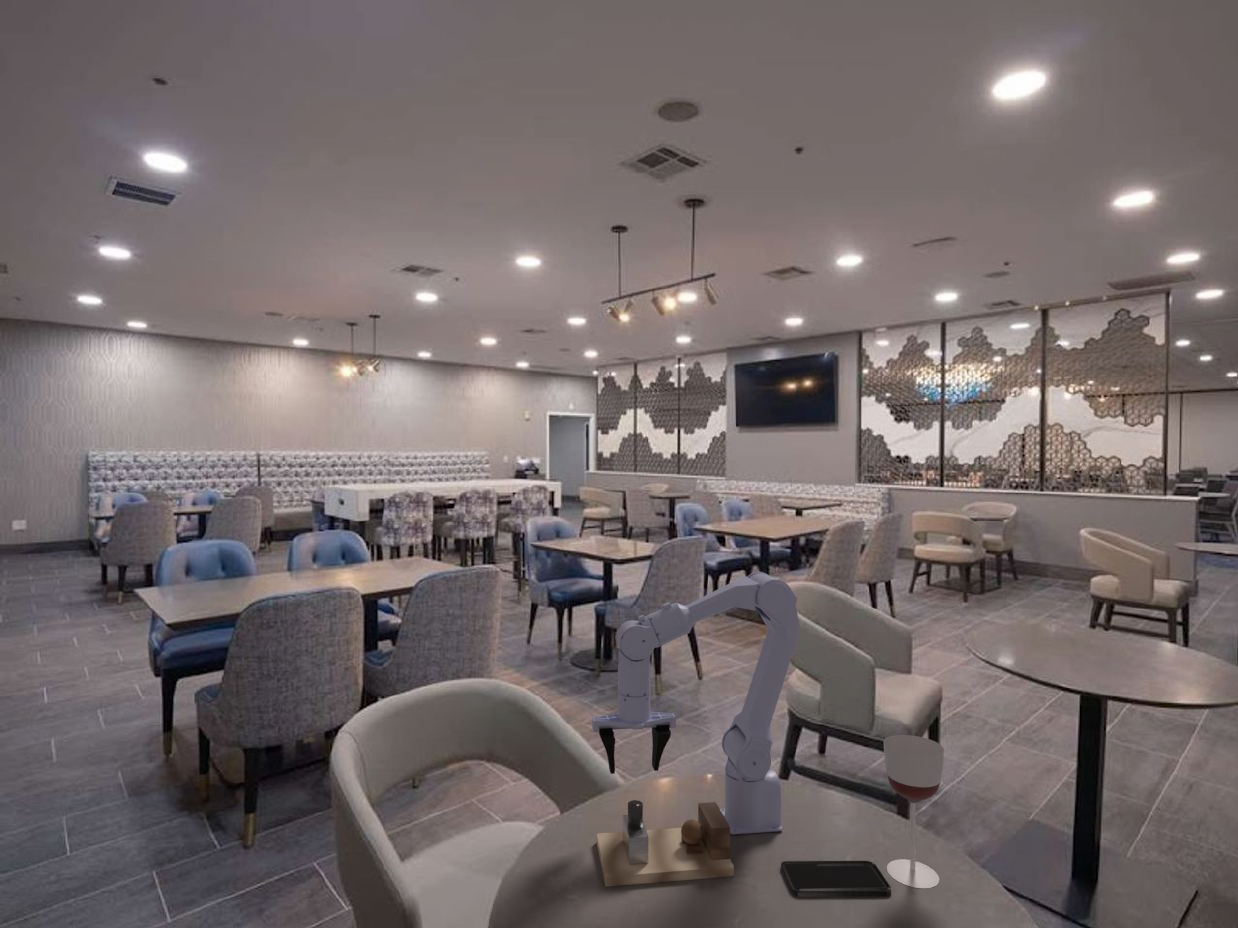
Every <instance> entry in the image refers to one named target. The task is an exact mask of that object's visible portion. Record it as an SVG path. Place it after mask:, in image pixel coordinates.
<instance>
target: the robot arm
mask: <svg viewBox="0 0 1238 928" xmlns="http://www.w3.org/2000/svg"><path fill="white" fill-rule="evenodd" d="M797 601H798V597H797V596H796V595H795V592H794V591H793V590H792V588H791V587H790V586H789V583H786V582H785V581H783V580H781V579H777V578H775V577H773V576H771V575H770V574H767V573H766V572H763V571H755V572H751V573H750V574H748V575H747V576H746V575H744V576H741V577H738V578H737V579H734V580H733V581H732V582H730V583H728V584H726V585H723V586H722V587H720V588H717V589H716V590H714V591H712V592H710V593H708V594H706V595H704V596H702V597H701V598H698V599H696V600H694V601H693V602H690V603H689V604H687V605H683V604H681V603H679V602H674V603H672V604H671V603H670V602H669V601H668V602H665V603H663V604H662V607H663V608H661V609H659V610H656V611H654V612H651V613H650V614H647V615H644V614H641V615H638V616H637V618H638V620H634V619H631V620H627V621H625V622H623V623H622V624H621V625H620V627H618V629H617V632H616V634H615V641H616V644H617V645H618V647H619V650H618V664H617V712H616V713H611V714H606V715H600V716H599V715H598V716H592V718H591V729H592V732H593V733H598V735H599V737H600V740H601V742H602V744H603V747H604V749H605V752H606V757H607V761H608V769H609V773H610V774H612V775H615V773H616V762H615V748H616V747H615V746H616V738H615V732H614V730H630V729H632V730H636V731H637V730H644V729H647V728H648V729H649V728H651V734H652V735H651V736H652V740H651V741H652V750H651V751H652V752H651V753H652V754H651V766H652V768H653V771H654V772H656V771H657V772H658V771H659V769H660V768H659V767H660V764H661V760H662V756H663V753H664V751H665V747H666V745H667V744H668V742H669V741H670V738H671V736H672V733H671V732H672V731H671V729H672V728H673V729H674V728H676V726H677V725H676V724H677V723H676V719H677V718H676V715H675V714H674V712H658V711H651V682H652V681H651V680H652V679H651V673H652V672H651V671H652V670H651V664H650V663H651V660H650V659H651V655H652V654H653V652H654V649H655V648H659V647H662V646H664V645H666V644H669V643H670V642H672V641H673V642H674V640H677V639H679V638H682V637H684V636H686V635H688V634H690V633H691V631H692V628H693V626H694V624H696V623H697V622H700V621H703V620H705V619H708V618H710V617H713V616H716V615H718V614H721V613H723V612H726V611H728V610H730V609H731V610H732V609H733V608H739V609H745V610H750V611H757V612H758V613H759V615H760V617H761V620H762V621H763V622H764V625H765V626H766V628H767V630H766V631H767V632H766V635H765V638H764V642H763V644H762V647H761V651H760V654H759V657H758V660H757V663H756V667H755V669H754V673H753V675H752V678H751V682H750V684H749V687H748V691H747V693H746V697H745V699H744V700H745V701H744V703H743V706H742V709H741V711H740V712H739V713H738V714H736V715H735V716H734V718H733V720H732V723H731V725H730V726H729V728H727V730H725V732H724V733H723V735H722V738H721V747H722V748H721V749H722V750H723V753H724V754H725V756H727V760H726V762H725V763H726V764H725V767H724V770H725V771H724V775H725V776H724V777H725V778H724V808H719V809H720V811H721V812H722V814H723V816H724V817H725V819H726V821H727V823H728V824H729V826H730V835H743V834H744V835H745V834H757V833H758V834H759V833H770V832H781V831H783V826H782V789H781V783H780V778H779V776H778V774H777V773H776V771H775V770H773V769H771V767H772V766H771V765H772V757H771V749H772V746H773V737H772V736H773V734H772V730H771V723H772V720H773V717H774V714H775V711H776V708H777V704H778V701H779V698H780V695H781V692H782V688H783V685H784V683H785V679H786V676H787V674H788V670H789V666H790V663H791V661H792V657H793V654H794V650H795V649H796V645H797V641H798V638H799V636H800V635H799V634H800V632H801V626H800V620H799V616H798V610H797Z"/></svg>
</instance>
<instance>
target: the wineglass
mask: <svg viewBox="0 0 1238 928" xmlns="http://www.w3.org/2000/svg"><path fill="white" fill-rule="evenodd" d="M944 749H945V748H944V747H943V745H942V744H940V743H939V742H937V741H935V740H933V739H929V738H927V737H922V736H917V735H910V734H894V735H890V736H887V737H885V738H884V739H883V754H884V765H885V770H886V775H887V780H888V783H889V785H890V787H891V789H892V790H893V791H894V792H895V793H896V794H898V795H899V796H900V797H902V798H904V799H906V800H908V801H909V802H910V803H909V804H910V806H909V807H910V808H909V811H910V815H909V818H910V824H909V825H910V829H909V830H910V831H909V833H910V834H909V838H910V840H909V843H910V845H909V846H910V847H909V849H910V850H909V855H910V856H909V859H904V858H903V859H894V860H892V861H890V862H889V863H888V864H887V865H886V870H887V873H888V874H889V875H890V877H891V878H892V879H894V880H895V881H897V882H899V883H900V884H903V885H905V886H909V887H911V888H915V889H916V888H917V889H931V888H933V887H936V886H937V885H938V884H939V883H940V877H939V874H938V873H937V872H936V871H935V870H934V869H932V867H929V865H926V864H924V863H923V862H920V861H916V846H917V845H916V840H917V838H916V835H917V834H916V829H917V827H916V824H917V823H916V819H917V816H916V810H917V807H916V806H917V805H916V804H917V802H921V801H925V800H928V799H930V798H932V797H934V795H936V793H937V792H938V790H939V787H940V784H941V779H942V775H943V769H944V756H945V754H944V752H945V751H944Z"/></svg>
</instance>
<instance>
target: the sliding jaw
mask: <svg viewBox="0 0 1238 928" xmlns="http://www.w3.org/2000/svg"><path fill="white" fill-rule="evenodd" d="M643 805H644V803H643V802H642V801H641V800H638V799H633V800H630V801H628V802H627V814H623V815H622V832H623V843H624V847H625V850H626V854H627V858H628V861H629V864H640V863H648V838H649V837H648V834H647V831H646V830H647V829H646V826H645V823H644V821H643V820H644V819H643V817H644V814H643V813H644V806H643Z"/></svg>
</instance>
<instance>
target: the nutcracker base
mask: <svg viewBox="0 0 1238 928" xmlns="http://www.w3.org/2000/svg"><path fill="white" fill-rule="evenodd" d="M697 805H698V806H697V807H698V808H697V811H698V812H697V814H698V816H697V819H698V820H697V821H698V822H699V823H700V824H701V826H702V828H703V838H702V840H701V841H700V842H699V843H698V844H695V845H690V844H688V843H686V842H685V841H684V840H683V838H682V835H681V828H682V827H670V828H657V829H655V828H654V829H646V831H647V834H648V837H649V838H648V863H640V864H629V861H628V858H627V854H626V850H625V847H624V843H623V831H617V832H615V831H614V832H602V833H601V832H600V833H599V832H598V833H596V846H597V852H598V857H599V861H600V865H601V871H602V876H603V880H604V885H605V887H606V888H608V887H618V886H619V887H621V886H633V885H634V886H635V885H643V884H655V883H667V882H680V881H691V880H692V881H693V880H694V881H695V880H705V879H715V878H717V879H718V878H729V877H735V865H734V863H733V862H732V859H731V834H730V826H729V824H728V823H727V821H726V819H725V817H724V816H723V814H722V812H721V811H720V809H721V808H720V807H719V805H718V804H717V802H716V801H711V802H698V804H697Z"/></svg>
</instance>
